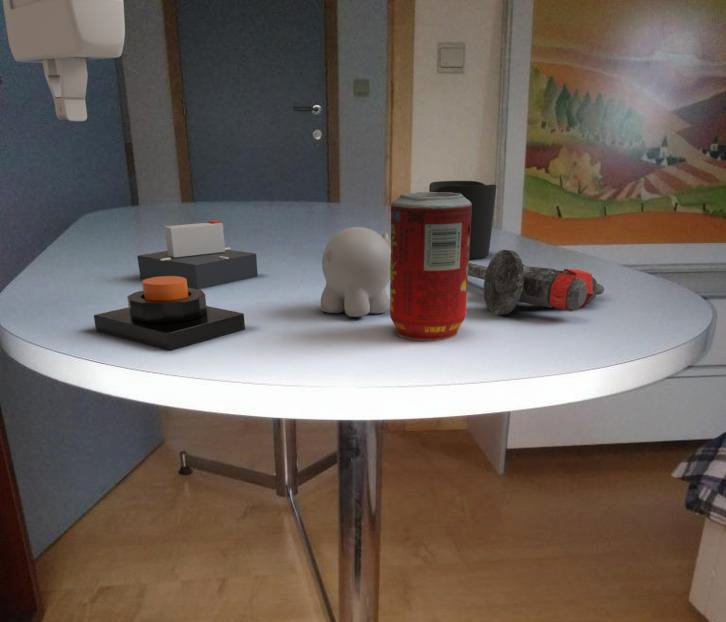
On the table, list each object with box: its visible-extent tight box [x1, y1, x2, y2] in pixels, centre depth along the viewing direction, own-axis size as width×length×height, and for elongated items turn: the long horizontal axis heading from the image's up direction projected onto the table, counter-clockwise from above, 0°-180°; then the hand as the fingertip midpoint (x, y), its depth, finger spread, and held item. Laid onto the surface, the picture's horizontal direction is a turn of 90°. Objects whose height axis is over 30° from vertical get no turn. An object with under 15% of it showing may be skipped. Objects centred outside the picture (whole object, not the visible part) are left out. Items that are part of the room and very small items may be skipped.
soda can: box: [389, 191, 472, 342], centre depth 65 cm, size 7×7×12 cm
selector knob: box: [164, 219, 226, 258], centre depth 90 cm, size 7×2×4 cm, turn 127°
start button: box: [141, 276, 189, 301], centre depth 67 cm, size 4×4×2 cm
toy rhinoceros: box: [319, 226, 391, 318], centre depth 75 cm, size 7×12×8 cm, turn 133°
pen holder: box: [428, 180, 497, 261], centre depth 104 cm, size 9×9×10 cm
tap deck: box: [137, 247, 259, 290], centre depth 91 cm, size 11×11×3 cm
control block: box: [93, 288, 246, 352], centre depth 68 cm, size 11×9×4 cm
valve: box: [468, 249, 605, 316], centre depth 81 cm, size 6×26×15 cm
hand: (72, 120), depth 64 cm, fingers closed
